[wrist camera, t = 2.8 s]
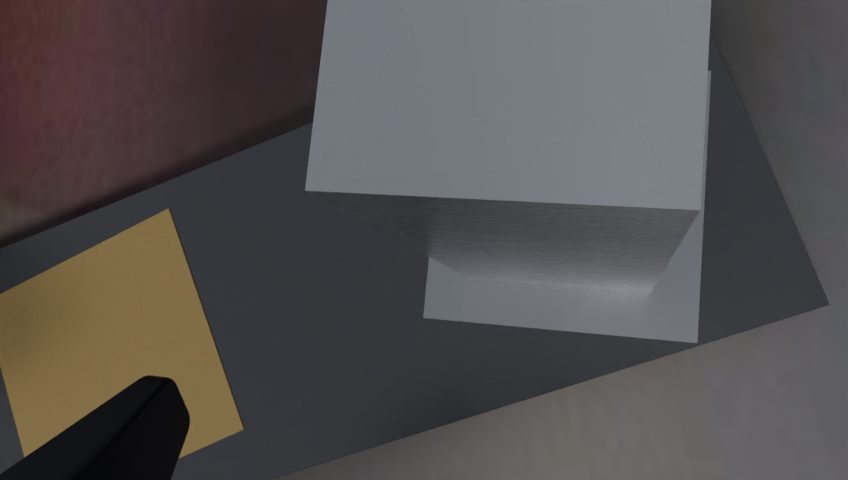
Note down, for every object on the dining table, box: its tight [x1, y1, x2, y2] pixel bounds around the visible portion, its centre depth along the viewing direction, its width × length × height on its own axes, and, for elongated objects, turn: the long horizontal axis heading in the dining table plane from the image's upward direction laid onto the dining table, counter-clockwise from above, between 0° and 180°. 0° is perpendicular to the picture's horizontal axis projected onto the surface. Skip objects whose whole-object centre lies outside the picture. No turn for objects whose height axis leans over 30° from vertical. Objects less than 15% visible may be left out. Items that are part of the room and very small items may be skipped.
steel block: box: [305, 0, 711, 292], centre depth 15 cm, size 5×5×12 cm
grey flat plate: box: [0, 30, 829, 480], centre depth 23 cm, size 26×10×1 cm, turn 107°
